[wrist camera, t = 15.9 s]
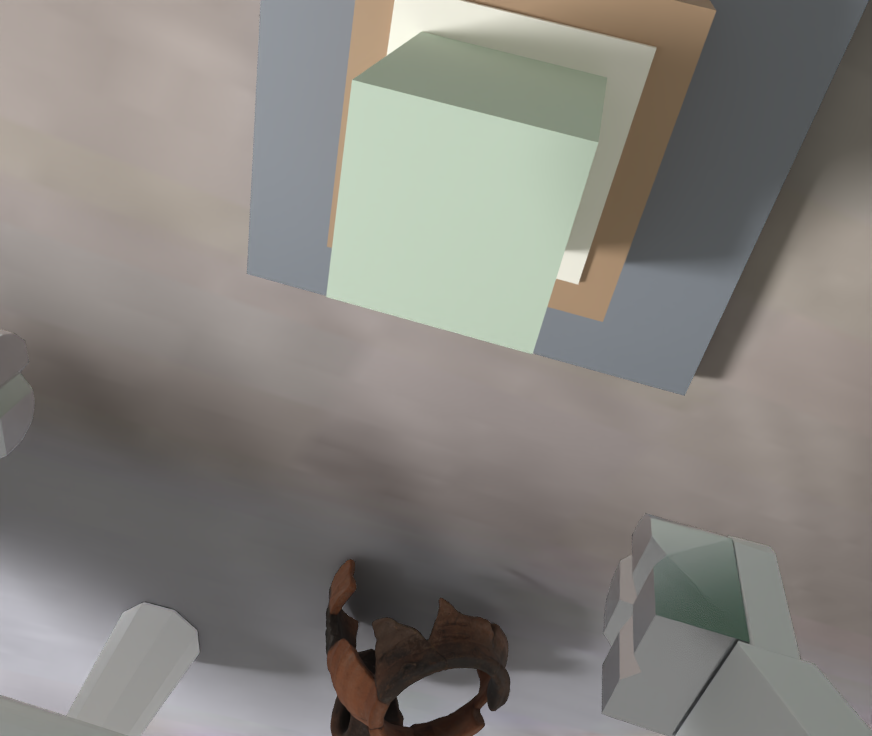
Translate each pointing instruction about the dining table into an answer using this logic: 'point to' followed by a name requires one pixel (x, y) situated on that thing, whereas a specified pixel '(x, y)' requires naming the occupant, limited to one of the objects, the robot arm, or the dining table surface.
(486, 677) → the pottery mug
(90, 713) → the pepper shaker
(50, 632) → the dining table surface
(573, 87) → the sage block
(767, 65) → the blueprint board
